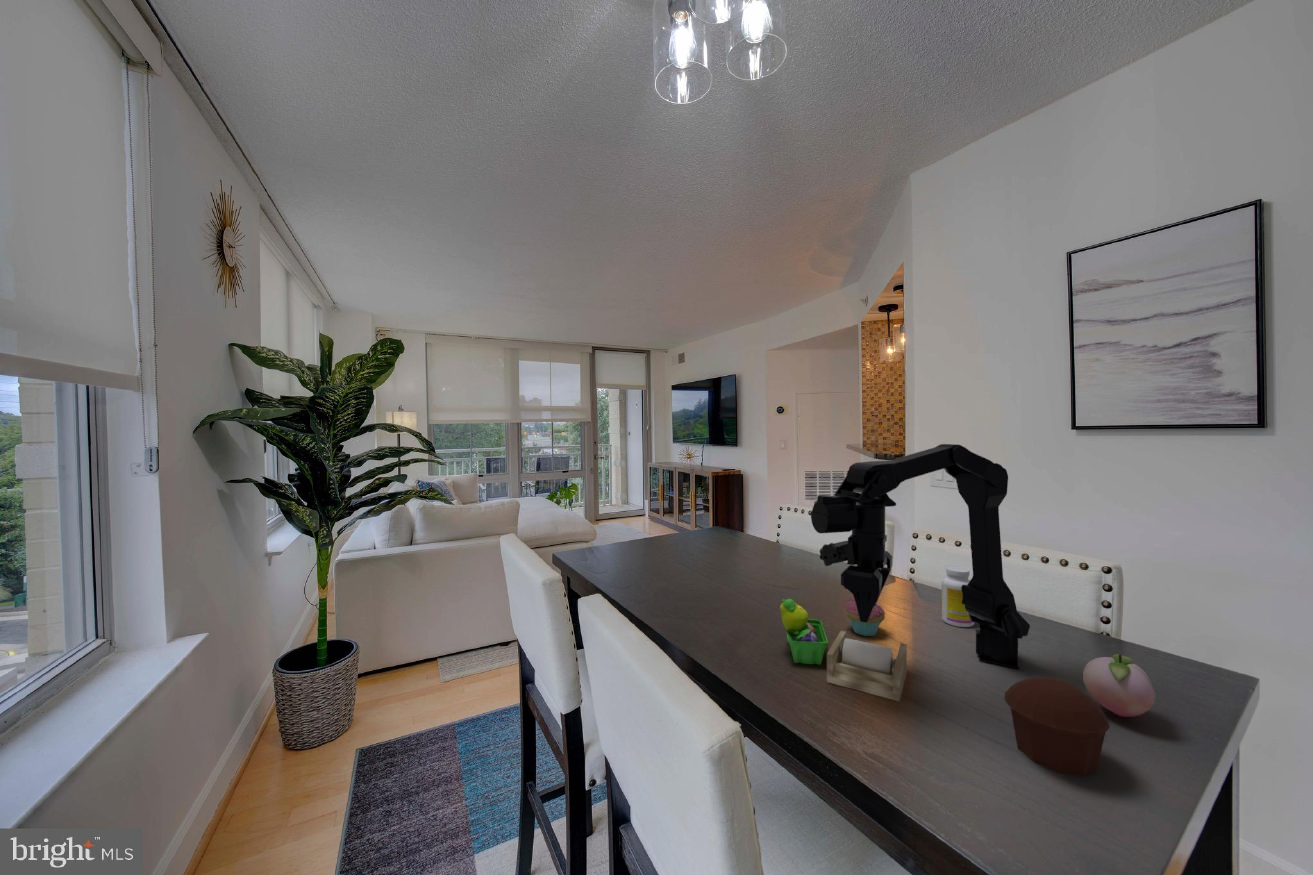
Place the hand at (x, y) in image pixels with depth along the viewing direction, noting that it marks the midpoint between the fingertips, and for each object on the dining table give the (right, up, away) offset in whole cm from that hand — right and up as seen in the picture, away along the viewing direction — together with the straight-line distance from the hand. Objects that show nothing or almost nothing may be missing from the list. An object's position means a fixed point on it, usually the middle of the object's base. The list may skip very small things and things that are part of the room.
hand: (868, 613), depth 90 cm
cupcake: (+8, -12, +20) cm, 24 cm away
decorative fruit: (+35, -12, -13) cm, 39 cm away
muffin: (+17, -12, -21) cm, 30 cm away
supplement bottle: (+32, -11, +25) cm, 42 cm away
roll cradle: (0, -12, 0) cm, 12 cm away
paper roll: (0, -11, 0) cm, 11 cm away
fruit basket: (-9, -12, +10) cm, 18 cm away
